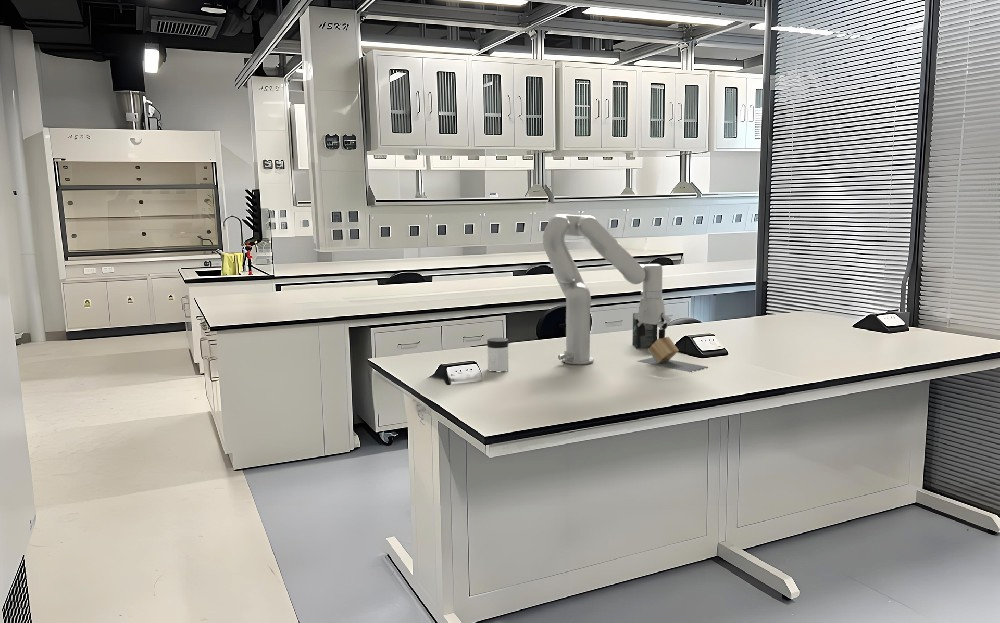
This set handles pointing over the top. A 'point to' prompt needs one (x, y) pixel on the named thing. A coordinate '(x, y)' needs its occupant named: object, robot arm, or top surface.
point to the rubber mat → (674, 365)
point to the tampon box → (649, 335)
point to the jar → (497, 354)
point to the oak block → (663, 350)
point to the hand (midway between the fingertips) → (651, 337)
